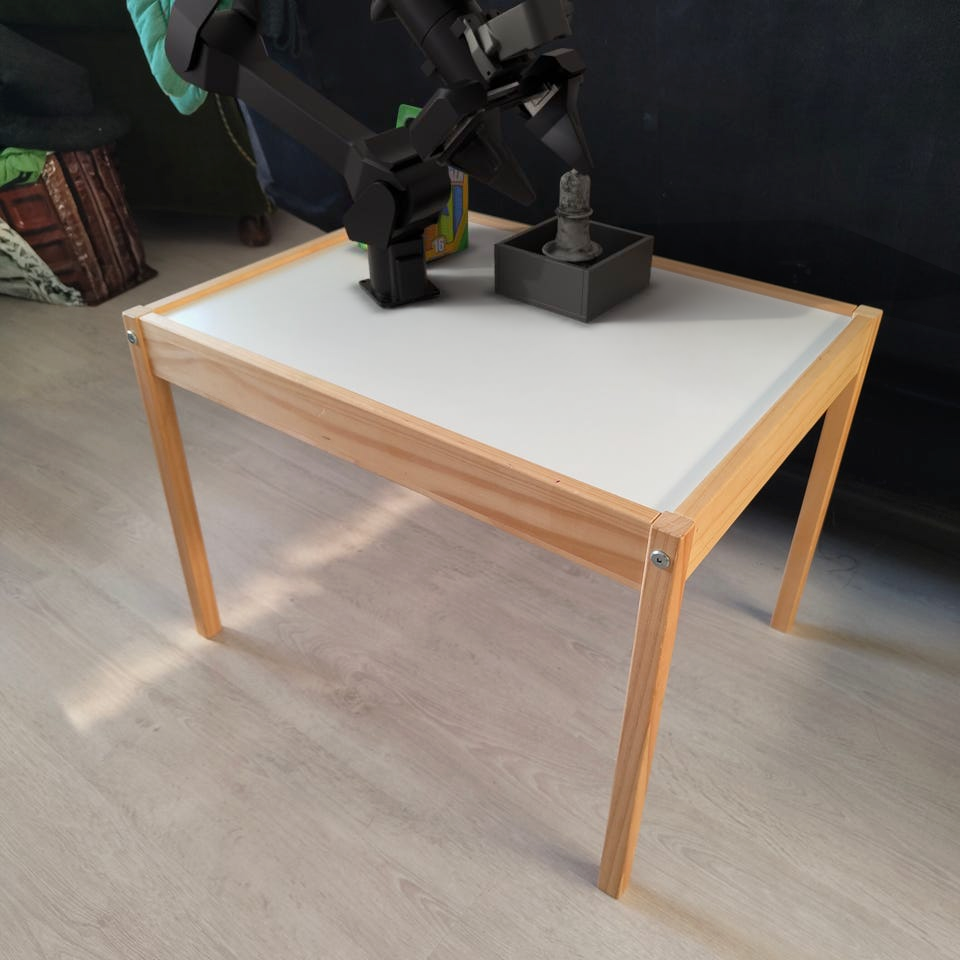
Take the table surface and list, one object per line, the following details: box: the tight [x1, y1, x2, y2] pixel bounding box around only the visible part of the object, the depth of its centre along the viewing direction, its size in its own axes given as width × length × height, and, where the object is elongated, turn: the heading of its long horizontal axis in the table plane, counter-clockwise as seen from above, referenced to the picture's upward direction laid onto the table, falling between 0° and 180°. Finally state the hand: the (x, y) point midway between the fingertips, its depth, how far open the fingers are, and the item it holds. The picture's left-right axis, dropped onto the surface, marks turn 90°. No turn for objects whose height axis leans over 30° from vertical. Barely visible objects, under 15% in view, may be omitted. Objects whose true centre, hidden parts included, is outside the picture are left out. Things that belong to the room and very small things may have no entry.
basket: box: [493, 214, 655, 324], centre depth 89 cm, size 11×11×5 cm
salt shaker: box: [542, 168, 602, 268], centre depth 86 cm, size 6×6×12 cm
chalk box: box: [357, 103, 470, 263], centre depth 96 cm, size 9×9×15 cm
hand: (561, 186), depth 74 cm, fingers open, 9 cm apart
